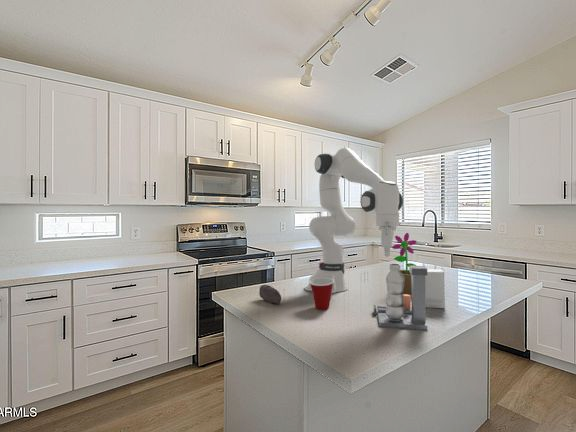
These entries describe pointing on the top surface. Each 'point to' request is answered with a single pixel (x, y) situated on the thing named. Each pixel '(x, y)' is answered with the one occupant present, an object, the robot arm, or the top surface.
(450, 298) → the top surface
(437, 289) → the skincare box
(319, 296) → the plastic cup
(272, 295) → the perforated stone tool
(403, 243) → the flowerpot
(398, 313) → the plastic bottle
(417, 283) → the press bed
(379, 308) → the rail
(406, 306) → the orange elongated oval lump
